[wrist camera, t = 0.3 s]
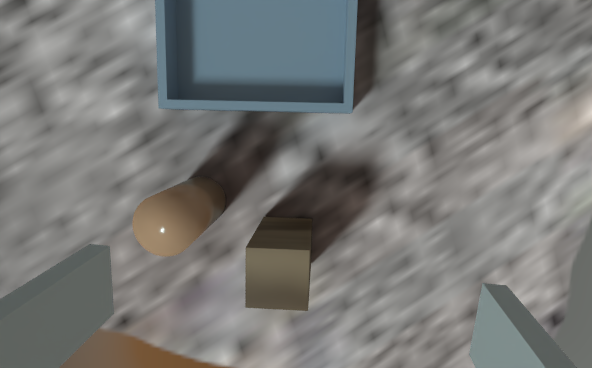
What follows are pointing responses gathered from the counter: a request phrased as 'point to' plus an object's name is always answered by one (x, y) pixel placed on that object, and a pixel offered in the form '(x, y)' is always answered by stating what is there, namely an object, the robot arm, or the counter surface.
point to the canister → (178, 215)
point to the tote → (256, 55)
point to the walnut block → (279, 264)
